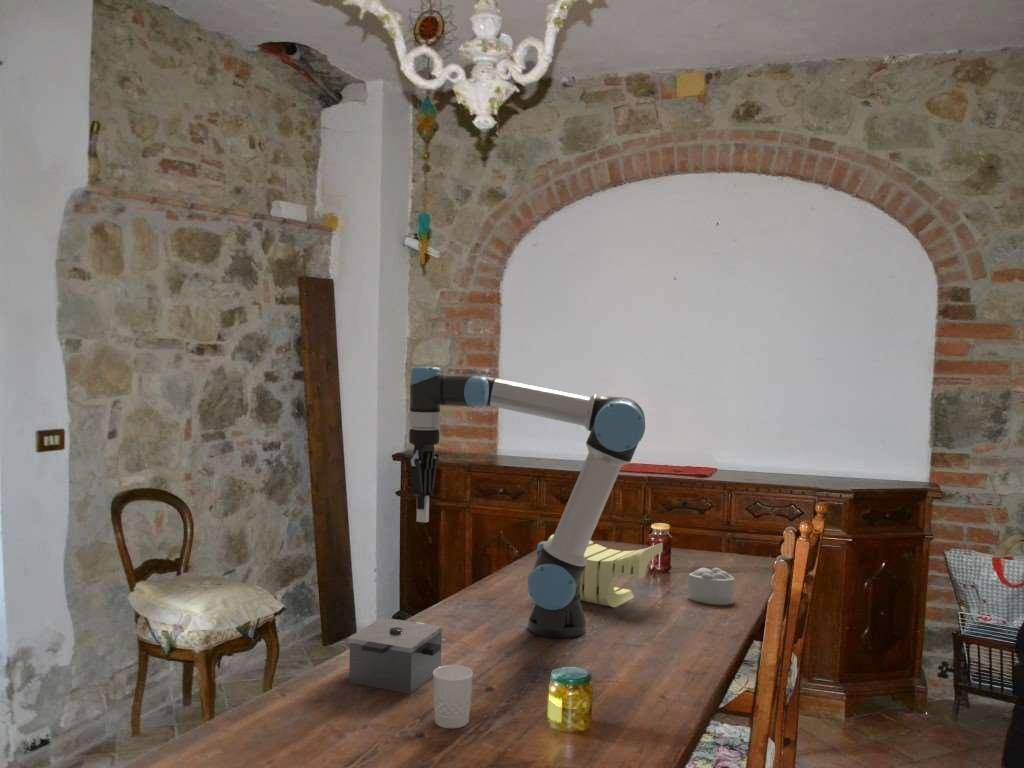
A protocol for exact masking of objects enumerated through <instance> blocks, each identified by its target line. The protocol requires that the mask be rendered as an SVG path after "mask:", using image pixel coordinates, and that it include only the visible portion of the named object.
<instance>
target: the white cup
mask: <svg viewBox="0 0 1024 768" xmlns="http://www.w3.org/2000/svg"><path fill="white" fill-rule="evenodd" d="M473 676H474V672H473V670H472V669H471V668H469V667H467V666H465V665H461V664H460V665H459V664H448V665H447V664H446V665H441V667H438V668H436V669H435V670H434V671H433V677H432V682H433V683H432V684H433V685H432V687H433V689H432V690H433V692H432V693H433V708H434V723H435V725H437V726H438V727H441V728H444V729H460V728H462V727H465V726H466V725H468V724H469V720H470V710H471V703H472V689H473V679H474V678H473Z"/></svg>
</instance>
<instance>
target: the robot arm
mask: <svg viewBox="0 0 1024 768" xmlns="http://www.w3.org/2000/svg"><path fill="white" fill-rule="evenodd" d="M441 372H442V370H441V368H440V367H438V366H415V367H413V368H412V369H411V370H410V382H409V414H408V418H409V426H410V427H411V428H410V429H409V432H408V438H409V439H408V440H409V444H411V445H414V446H413V452H412V454H413V457H411V458H410V457H409V458H407V459H408V460H407V462H408V466H409V470H410V471H409V473H410V484H411V493H412V496H413V497H416V520H415V521H416V522H417V523H418V522H419V523H428V522H430V496H433V495H434V490H435V481H436V476H437V475H436V474H437V466H438V461H439V457H440V454H439V453H437V452H435V450H436V449H435V446H436V445H438V444H439V443H440V429H438V428H439V427H440V426H441V406H452V407H453V406H456V407H471V408H475V407H477V408H478V407H485V406H487V407H488V406H489V407H493V408H499V409H503V410H507V411H512V412H517V413H521V414H527V415H532V416H536V417H540V418H545V419H550V420H554V421H560V422H564V423H568V424H572V425H579V426H581V427H585V429H586V431H587V432H589V436H588V438H587V440H586V442H585V444H586V445H585V446H586V447H587V450H588V453H587V456H586V458H585V461H584V463H583V465H582V468H581V470H580V472H579V475H578V478H577V480H576V481H575V484H574V487H573V489H572V490H571V493H570V496H569V498H568V501H567V503H566V505H565V508H564V510H563V513H562V515H561V517H560V520H559V522H558V524H557V527H556V529H555V532H554V533H553V534H554V536H553V538H552V540H551V541H548V540H546V541H540V542H539V543H538V544H537V546H536V547H537V548H536V550H535V551H536V552H535V553H536V561H535V563H534V565H533V567H532V570H531V571H530V573H529V574H528V577H527V591H528V595H529V596H530V599H531V600H532V601H533V602H534V603H533V605H532V608H531V611H530V614H529V617H528V625H527V626H528V630H529V631H530V632H531V633H533V634H535V635H538V636H540V637H545V638H553V639H569V638H575V637H578V636H581V635H583V634H584V633H586V630H587V621H586V617H585V612H584V610H583V607H582V603H581V600H580V583H581V576H582V574H583V571H584V569H585V566H586V564H587V562H586V559H585V557H584V553H585V551H586V548H587V546H588V544H589V541H590V540H591V539H592V536H593V534H594V531H595V529H596V527H597V525H598V523H599V520H600V518H601V516H602V513H603V511H604V508H605V507H606V503H607V501H608V499H609V497H610V494H611V492H612V489H613V487H614V485H615V482H616V480H617V478H618V475H619V474H620V471H621V469H622V467H623V466H624V465H628V464H630V463H631V461H632V459H633V456H634V454H635V452H636V450H637V447H638V445H639V443H640V442H641V440H642V439H643V437H644V434H645V431H646V418H645V413H644V411H643V408H642V407H641V406H640V405H639V404H638V403H637V401H635V400H633V399H631V398H627V397H623V396H622V397H620V396H607V395H600V394H593V395H592V396H586V395H585V396H584V395H580V394H575V393H573V392H572V393H571V392H566V391H560V390H557V389H551V388H547V387H542V386H538V385H532V384H529V383H528V384H527V383H523V382H517V381H513V380H507V379H503V378H499V377H492V376H488V375H485V374H484V373H477V372H473V373H470V374H467V375H466V374H465V375H446V374H445V375H444V374H442V373H441Z"/></svg>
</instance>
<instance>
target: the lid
mask: <svg viewBox="0 0 1024 768" xmlns="http://www.w3.org/2000/svg"><path fill="white" fill-rule="evenodd" d="M441 631H443V626H441V625H440V626H439V625H434V624H429V623H425V622H416V621H412V620H405V619H400V618H399V619H396V618H388V617H381V618H378V619H377V620H375V621H374V622H372V623H370V624H369V625H367V626H364V628H362V629H361V630H358V631H357V632H355V633H354V634H351V635H350V636H348V637H347V643H349V644H350V643H355V644H361V645H362V650H365V651H370V652H376V653H382V654H383V653H384V652H386V651H387V650H389V649H390V650H396V651H402V652H408V653H412V652H413V651H415V650H416V649H417V648H419V647H420V646H422V645H423V644H424V643H426V642H427V641H429V640H430V639H431V638H433V637H434V636H436V635H437V634H438V633H440V632H441Z"/></svg>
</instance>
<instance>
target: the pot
mask: <svg viewBox="0 0 1024 768" xmlns="http://www.w3.org/2000/svg"><path fill="white" fill-rule="evenodd" d="M442 631H443V630H442ZM442 631H441V632H440V633H438V634H437V635H436V636H434V637H433V638H431V639H430V640H429V641H427V642H426V643H424V644H423V645H422V646H420V647H419V648H417V649H416V650H415V651H413V652H412V653H408V652H402V651H396V650H390V649H389V650H387V651H386V652H384V653H383V654H382V653H376V652H370V651H365V650H362V645H361V644H355V643H349V670H348V671H349V673H348V676H349V678H348V681H349V682H348V683H350V684H354V685H359V686H364V687H371V688H375V689H381V690H386V691H392V692H397V693H401V694H408V695H412V694H413V693H415V691H417V690H418V689H419V688H421V686H423V685H424V684H425V683H427V682H428V681H429V680H430V679H431V678H432V679H433V671H434V670H435V669H436V668H438V667H441V666H442V638H443V637H442V634H443V633H442Z"/></svg>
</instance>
